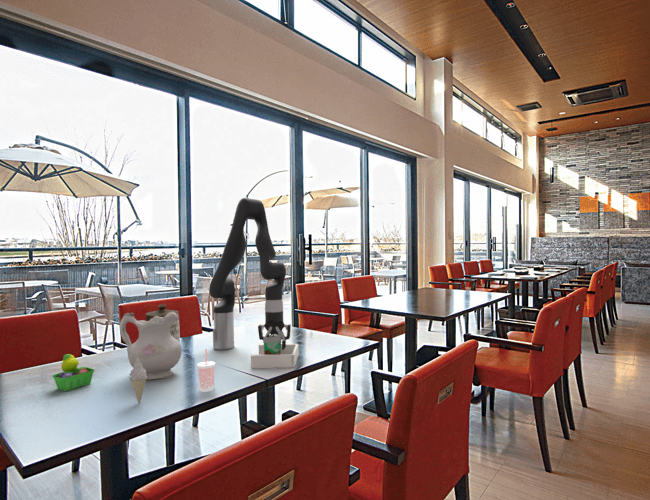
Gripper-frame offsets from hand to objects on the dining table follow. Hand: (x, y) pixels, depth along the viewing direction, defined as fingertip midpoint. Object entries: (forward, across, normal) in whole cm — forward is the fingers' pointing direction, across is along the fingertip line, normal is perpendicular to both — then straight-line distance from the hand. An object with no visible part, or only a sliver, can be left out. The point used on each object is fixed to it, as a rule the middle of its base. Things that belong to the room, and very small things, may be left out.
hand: (274, 349), depth 178 cm
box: (+5, 0, 0) cm, 5 cm away
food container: (+4, 0, 0) cm, 4 cm away
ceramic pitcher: (+5, +45, +17) cm, 48 cm away
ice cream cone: (+5, +37, +45) cm, 59 cm away
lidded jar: (+5, +56, -20) cm, 60 cm away
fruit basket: (+5, +69, +28) cm, 75 cm away
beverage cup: (+5, +19, +33) cm, 38 cm away
